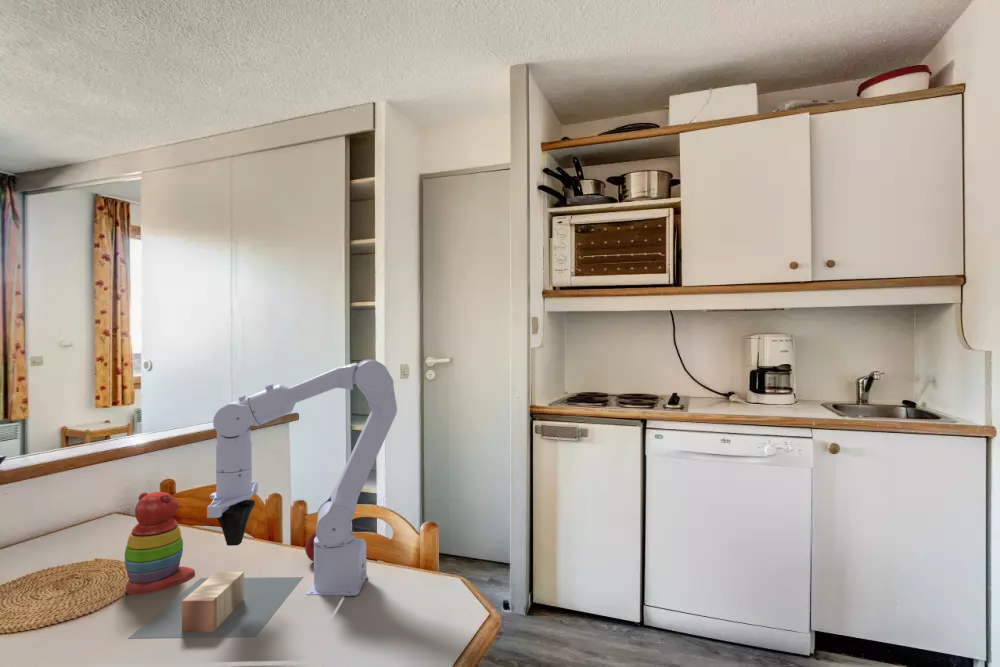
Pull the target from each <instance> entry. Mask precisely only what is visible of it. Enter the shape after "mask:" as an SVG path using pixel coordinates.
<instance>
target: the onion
mask: <svg viewBox="0 0 1000 667" xmlns="http://www.w3.org/2000/svg"><path fill="white" fill-rule="evenodd" d="M315 537H316V530H315V531H314V532H312V533H311V534H310V536H309V537H308V539H307V540H306V543H305V545H304V546H305V548H304V551H305V555H306V556H307V558H308V559H309V560H310V561H312V562H313V563H314V538H315Z"/></svg>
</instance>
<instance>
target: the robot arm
mask: <svg viewBox="0 0 1000 667" xmlns="http://www.w3.org/2000/svg"><path fill="white" fill-rule="evenodd" d="M354 385H356V386H357V388H358V390H359V391H360V392H361V393H362V395H364V396H365V399H366V401H367V404H368V406H369V408H370V411H369V412H370V413H369V415H368V417H367V418H366V421H365V423H364V426H363V427H362V430H361V432H360V433H359V436H358V438H357V439H356V443H355V445H354V447H353V449H352V451H351V454H350V456H349V458H348V460H347V462H346V464H345V466H344V468H343V471H342V472H341V475H340V478H339V480H338V481H337V484H336V485H335V486H334V487H333V489H332V490H331V493H330V495H329V497H328V498H327V499H326V500H325V501H324V502H322V503H321V504H320V505H319V507H318V510H317V513H316V518H317V522H316V526H315V531H316V537H315V538H314V562H313V583H312V585H311V586H310V588H309V589H308V590H307V591H306V594H305V595H306V596H324V595H325V596H326V595H327V596H331V595H332V596H334V595H336V596H341V595H343V597H344V596H345V597H349V596H350V597H351V596H353V597H356V596H358V595H359V593H360V591H361V589H362V587H363V585H364V583H365V581H366V579H367V578H368V574H367V542H366V539H363V538H357V537H356V536H354V532H353V531H352V528H353V527H352V526H353V525H352V519H353V516H354V514H355V512H356V508H357V504H358V500H359V497H360V494H361V493H362V491H363V488H364V486H365V484H366V482H367V480H368V477H369V475H370V472H371V471H372V469H373V466H374V464H375V461H376V459H377V457H378V455H379V453H380V451H381V450H382V449H381V448H382V446H383V444H384V442H385V439H386V437H387V435H388V433H389V431H390V428H391V426H392V424H393V423H394V420H395V418H396V415H397V413H398V405H397V399H396V394H395V393H396V392H395V386H394V385H395V384H394V379H393V378H392V376H391V374H390V372H389V370H388V368H387V367H386V366H385V365H384V364H383V363H382V362H379V361H377V360H375V359H373V358H371V359H370V358H368V359H363V360H361V361H360V362H358V363H357V362H354V363H349V364H345V365H342V366H338V367H334V368H333V369H331V370H327V371H326V372H324V373H321V374H319V375H317V376H314V377H311V378H310V379H307V380H305V381H303V382H299V383H297V384H295V385H293V386H291V387H289V386H286V385H284V384H281V383H280V384H277V385H274V384H273V383H270V384H267V385H266V386H265V387H264V388H265V389H264V390H260V391H258V392H256V393H254V394H251V395H248V396H246V395H245V394H244V395H241V396H240V397H238V400H239V401H232V402H230V403H229V402H228V403H227V404H226V405H224V406H222V407H221V408H219V409H218V410H217V411H216V413H215V414H214V416H213V419H212V420H213V421H212V423H213V424H212V425H213V429H214V430H215V431H216V446H215V452H216V453H215V455H216V456H215V457H216V458H215V469H216V471H215V472H216V473H215V474H216V475H215V482H216V483H215V484H216V486H215V487H216V489H215V492H213V493H211V494H210V495H209V500H210V499H211V500H212V501H211V503H210V504H209V505H207V507H206V518H207V519H215V518H216V520H217V521H218V523H219V525H220V527H221V529H222V533H223V536H224V540H225V543H226V546H227V547H228V546H229V547H232V546H239V545H241V544H242V543H243V539H244V536H245V530H246V527H247V523H248V519H249V517H250V515H251V512H252V510H253V508H254V506H255V503H256V502H255V500H254V499H251V498H252V497H253V496H254V494H256V493H257V492H259V491H258V488H259V487H258V481H253V476H252V475H253V474H252V472H253V471H252V470H253V468H252V467H253V466H252V464H253V463H252V462H253V460H252V455H253V454H252V447H253V446H252V441H251V428H250V427H252V426H254V427H259V426H261V425H264V424H266V423H268V422H271V421H273V420H275V419H278V418H281V417H284V416H286V415H288V414H291V413H292V412H293V410H294V408H295V406H296V404H297V403H299V402H303V401H305V400H307V399H310V398H313V397H315V396H319V395H321V394H323V393H325V392H329V391H331V390H334V389H338V388H339V389H344V390H345V389H346V390H352V391H353V390H354Z"/></svg>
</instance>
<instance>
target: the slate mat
mask: <svg viewBox="0 0 1000 667" xmlns="http://www.w3.org/2000/svg"><path fill="white" fill-rule="evenodd" d="M208 578H209V577H207V578H206V577H203V578H202V577H201V578H199V579H198V580H197V581H196V582H195V583H194V582H193V583H194V584H192V585H191V586H189V587H188V588H187V589H186V590H185V591H184V592H182V593H180V595H179V596H177V597H176V598H175V599H174V600H172V602H169V604H168V605H166V606H165V607H164V608H162V610H160V611H159V612H158V613H157V614H156V615H154V616H153V617H152V618H151V619H150V620H148V621H147V622H145V623H144V624H143V625H142V626H141V627H140V628H138V629H137V630H136V631H135V632H134V633H133V634H131V635H130V636H129V637H128V638H127V639H132V640H133V639H189V638H191V639H193V638H194V639H198V638H199V639H200V638H201V639H202V638H206V639H207V638H256V637H257V636H258V635H259V634H260V632H261V631H262V630H263V628H264V627H265V626H266V625H267V624H268V623H269V621H270V620H271V619H272V618H273V616H274V615H275V614H276V613H277V611H278V610H279V608H280V607H281V606H282V605H283V604H284V603H285V601H286V599H287V598H288V597H289V596H290V595H291V593H293V591H294V590H295V588H296V587H297V586H298V585H299V583H300V582H301V581H302V579H303V578H304V577H302V576H288V577H287V576H285V577H284V576H283V577H282V576H280V577H279V576H277V577H274V576H273V577H271V576H270V577H244V600H243V601H242V602H241V603H240V604H239V605H238V606H237V607H236V608H235V609H234V610H233V611H232V613H231V614H230V615H229V616H228V617H227V618H226V619H225V620H224V621H223V622H222V623H221V624H220V625H219V626H218V627H217V628H216V629H215V630H214V632H182V600H184V599H185V598H186V597H187V596H188V595H189V594H191V593H192V592H193V591H194V590H195V589H197V588H198V587H199V586H200V585H201V584H202V583H204V582H205V581H206V580H207V579H208Z"/></svg>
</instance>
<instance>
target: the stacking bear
mask: <svg viewBox="0 0 1000 667" xmlns="http://www.w3.org/2000/svg"><path fill="white" fill-rule="evenodd" d="M178 508H179V502H178V501H177V500H176V498H175V497H174V496H173V495H172V494H170V493H168V492H163V491H155V492H150V493H147V492H146V491H145V492H141V493H140V494H139V496H138V501H137V503H136V505H135V508H134V515H135V518H136V522H138V523H137V524H135V526H134V527H133V528H132V530H131V532H130V534H129V536H128V539H127V542H126V546H125V551H124V566H125V569H126V573H127V578H128V581H127V583H126V586H125V592H126V591H127V592H126V593H127V594H133V595H143V594H144V595H145V594H149V593H155V592H159V591H163V590H167V589H169V588H172V587H175V586H177V585H180V584H182V583H184V582H186V581H188V580H190V579H192V578H193V577H195V576H196V575H195V574H196V572H195V569H194V568H193V567H188V566H180V564H181V559H182V557H183V551H184V548H183V547H184V542H183V541H184V540H183V537H182V532H181V528H180V526H179V525H178V521H177V520H176V519H175V518H174V516H175V514H176V512H177V510H178Z"/></svg>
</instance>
